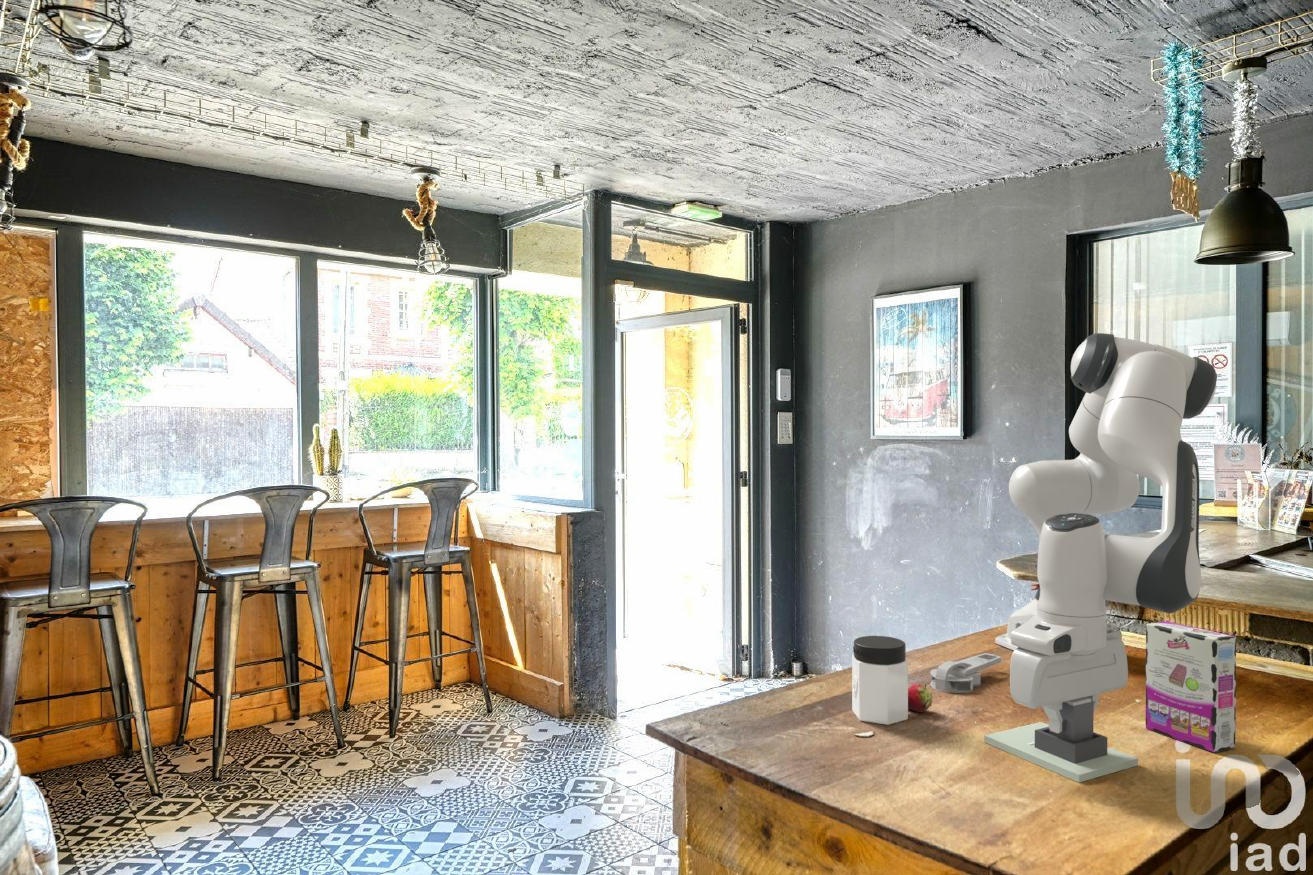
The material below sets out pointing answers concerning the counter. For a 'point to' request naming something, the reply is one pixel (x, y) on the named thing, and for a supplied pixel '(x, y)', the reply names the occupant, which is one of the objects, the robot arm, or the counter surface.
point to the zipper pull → (961, 673)
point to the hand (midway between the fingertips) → (1070, 727)
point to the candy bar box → (1191, 685)
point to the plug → (1077, 720)
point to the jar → (880, 680)
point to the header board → (1062, 752)
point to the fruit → (919, 698)
